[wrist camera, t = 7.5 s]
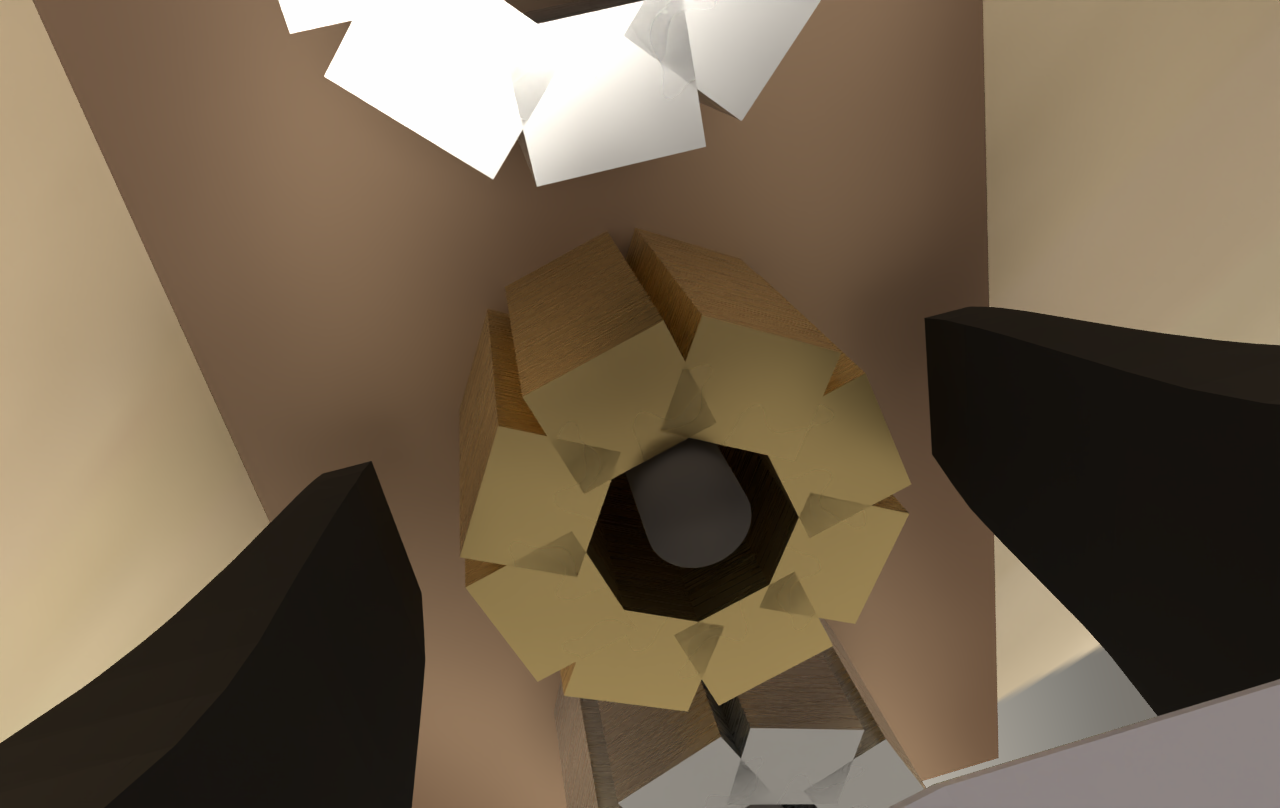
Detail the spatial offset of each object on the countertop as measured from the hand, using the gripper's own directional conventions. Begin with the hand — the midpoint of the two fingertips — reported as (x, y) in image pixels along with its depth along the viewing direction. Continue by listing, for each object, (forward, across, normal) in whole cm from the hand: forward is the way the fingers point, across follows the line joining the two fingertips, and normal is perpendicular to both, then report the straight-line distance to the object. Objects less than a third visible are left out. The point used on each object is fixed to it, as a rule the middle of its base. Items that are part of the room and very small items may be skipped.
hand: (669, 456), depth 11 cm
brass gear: (+3, 0, 0) cm, 3 cm away
